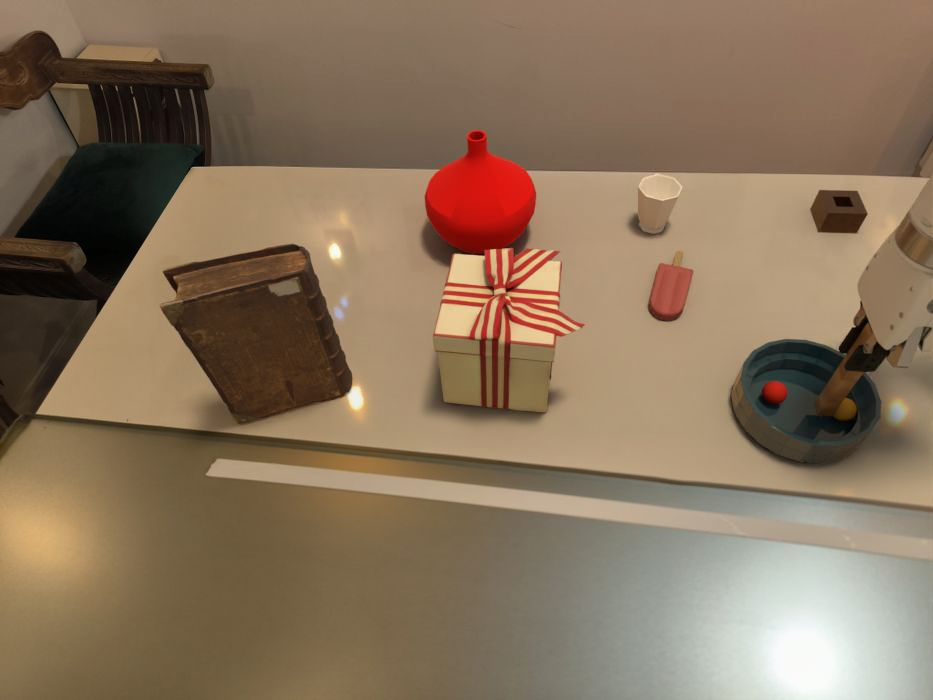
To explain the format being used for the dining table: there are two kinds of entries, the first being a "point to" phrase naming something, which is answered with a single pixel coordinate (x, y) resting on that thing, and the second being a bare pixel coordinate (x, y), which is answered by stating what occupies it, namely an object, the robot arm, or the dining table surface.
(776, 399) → the red ball
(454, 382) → the gift box
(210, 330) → the book
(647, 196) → the cup
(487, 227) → the vase
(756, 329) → the dining table surface
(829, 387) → the stick
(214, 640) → the dining table surface
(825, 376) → the bowl
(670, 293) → the popsicle
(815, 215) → the holder
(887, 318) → the robot arm
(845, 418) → the ochre ball
